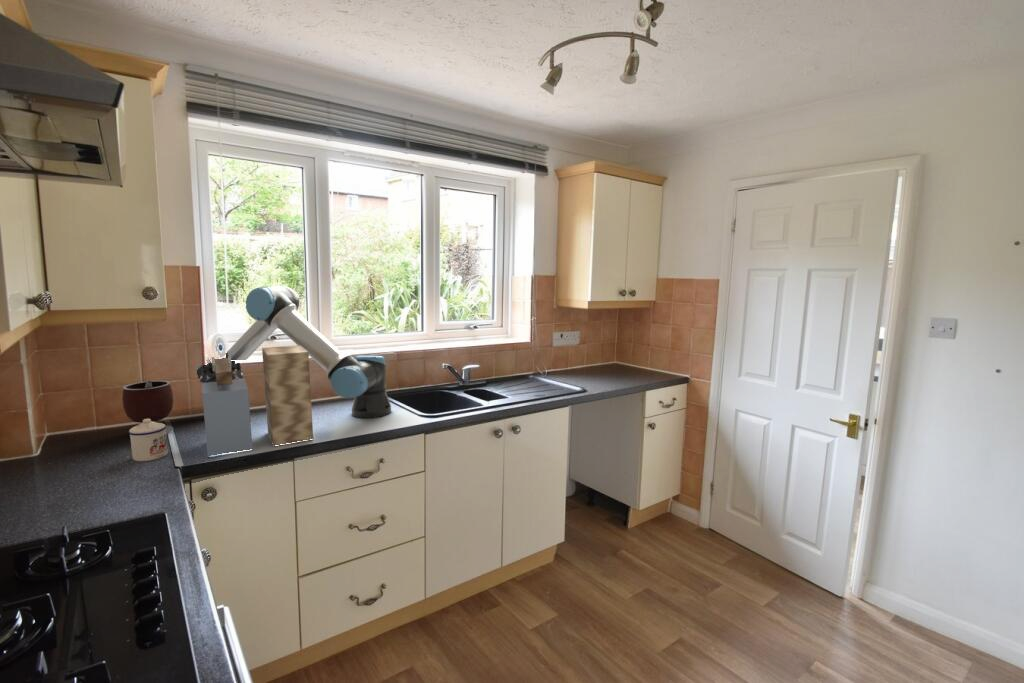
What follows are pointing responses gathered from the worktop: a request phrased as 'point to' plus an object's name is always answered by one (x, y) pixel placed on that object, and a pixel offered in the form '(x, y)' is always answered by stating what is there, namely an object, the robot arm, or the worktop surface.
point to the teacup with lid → (148, 441)
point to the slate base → (227, 417)
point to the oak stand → (287, 394)
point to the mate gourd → (148, 401)
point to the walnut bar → (223, 372)
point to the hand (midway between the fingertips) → (221, 360)
